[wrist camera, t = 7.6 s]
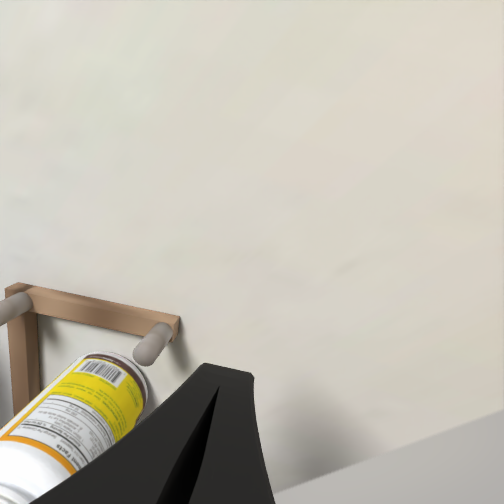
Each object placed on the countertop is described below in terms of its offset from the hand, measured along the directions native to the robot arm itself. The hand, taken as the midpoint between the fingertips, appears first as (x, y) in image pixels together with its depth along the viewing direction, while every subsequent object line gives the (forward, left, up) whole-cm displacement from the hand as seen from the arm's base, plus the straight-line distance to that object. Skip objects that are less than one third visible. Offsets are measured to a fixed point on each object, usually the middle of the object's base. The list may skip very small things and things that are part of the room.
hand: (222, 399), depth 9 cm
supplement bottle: (-9, -10, -11) cm, 17 cm away
